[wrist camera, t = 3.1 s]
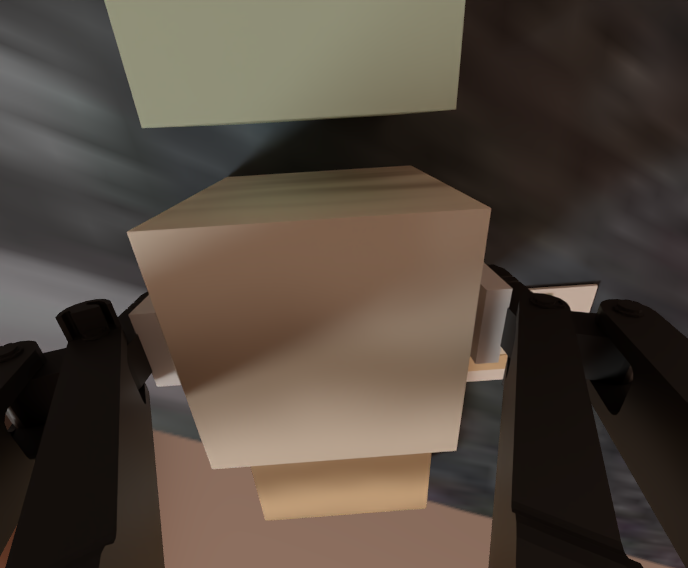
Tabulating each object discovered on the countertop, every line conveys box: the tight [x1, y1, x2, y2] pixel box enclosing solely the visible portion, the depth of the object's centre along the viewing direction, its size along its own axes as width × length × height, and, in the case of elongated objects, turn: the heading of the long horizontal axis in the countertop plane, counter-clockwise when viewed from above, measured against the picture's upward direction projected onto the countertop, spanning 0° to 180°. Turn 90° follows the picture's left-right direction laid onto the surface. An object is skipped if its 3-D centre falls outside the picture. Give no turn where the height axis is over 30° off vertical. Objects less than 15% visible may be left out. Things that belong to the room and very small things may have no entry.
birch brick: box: [127, 165, 491, 469], centre depth 13 cm, size 8×8×8 cm
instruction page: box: [466, 284, 598, 382], centre depth 19 cm, size 6×8×1 cm
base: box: [250, 453, 431, 521], centre depth 20 cm, size 11×11×3 cm
